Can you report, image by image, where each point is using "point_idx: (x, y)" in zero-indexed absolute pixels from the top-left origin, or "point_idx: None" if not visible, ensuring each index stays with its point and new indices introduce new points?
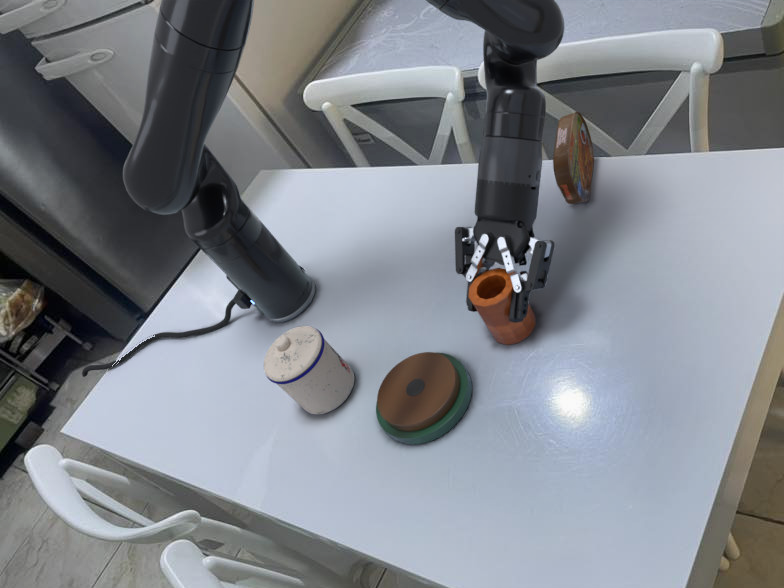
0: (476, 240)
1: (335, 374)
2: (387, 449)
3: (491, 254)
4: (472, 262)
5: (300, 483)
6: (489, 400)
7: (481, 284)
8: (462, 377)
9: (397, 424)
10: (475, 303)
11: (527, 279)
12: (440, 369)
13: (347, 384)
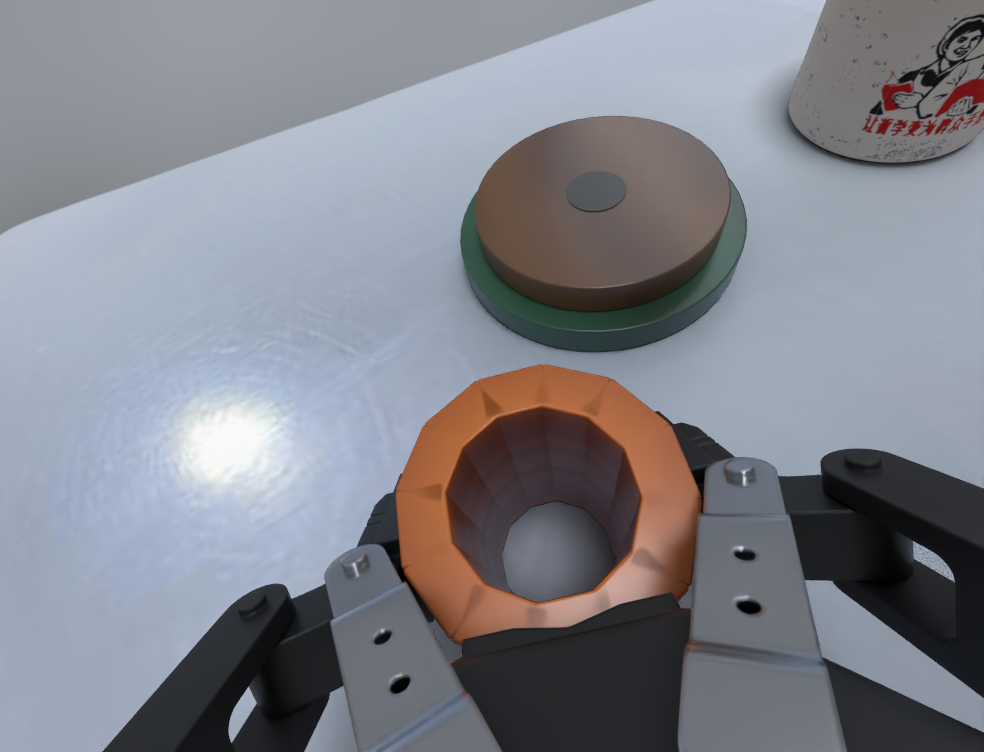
0: (955, 724)
1: (848, 52)
2: None
3: (634, 660)
4: (759, 514)
5: (665, 32)
6: (434, 331)
7: (634, 490)
8: (526, 306)
9: (544, 129)
10: (532, 368)
11: (260, 626)
12: (577, 255)
13: (823, 118)
